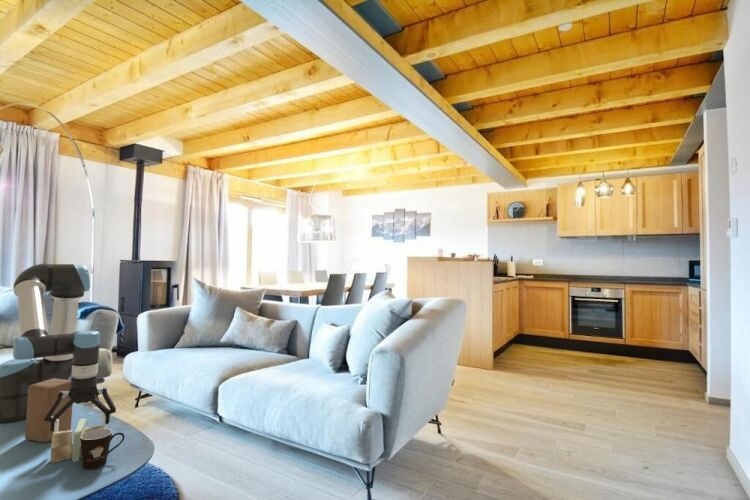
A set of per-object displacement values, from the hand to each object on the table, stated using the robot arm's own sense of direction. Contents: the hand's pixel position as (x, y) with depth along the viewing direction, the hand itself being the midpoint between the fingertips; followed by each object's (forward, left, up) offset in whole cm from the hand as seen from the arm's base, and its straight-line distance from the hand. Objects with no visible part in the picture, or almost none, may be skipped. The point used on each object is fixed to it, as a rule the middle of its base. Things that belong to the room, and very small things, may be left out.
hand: (80, 436), depth 138 cm
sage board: (+2, 0, -5) cm, 5 cm away
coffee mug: (+15, +5, -5) cm, 17 cm away
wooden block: (-19, -8, -5) cm, 21 cm away
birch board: (+5, -1, -5) cm, 7 cm away
